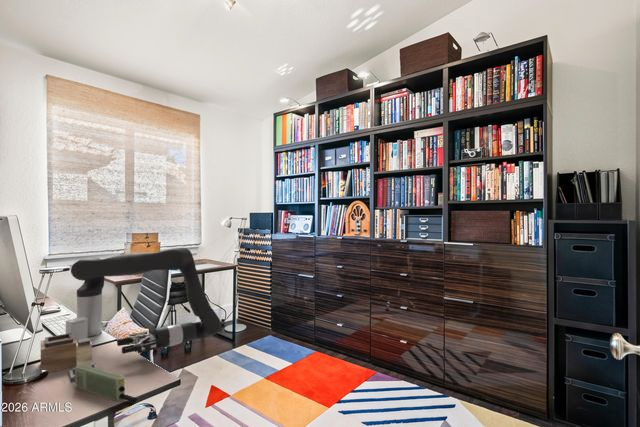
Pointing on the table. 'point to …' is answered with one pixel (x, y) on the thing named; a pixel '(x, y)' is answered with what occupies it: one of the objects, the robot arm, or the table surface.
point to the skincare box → (77, 327)
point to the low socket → (74, 372)
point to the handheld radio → (101, 383)
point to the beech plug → (84, 352)
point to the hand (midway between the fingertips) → (119, 346)
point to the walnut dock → (58, 352)
